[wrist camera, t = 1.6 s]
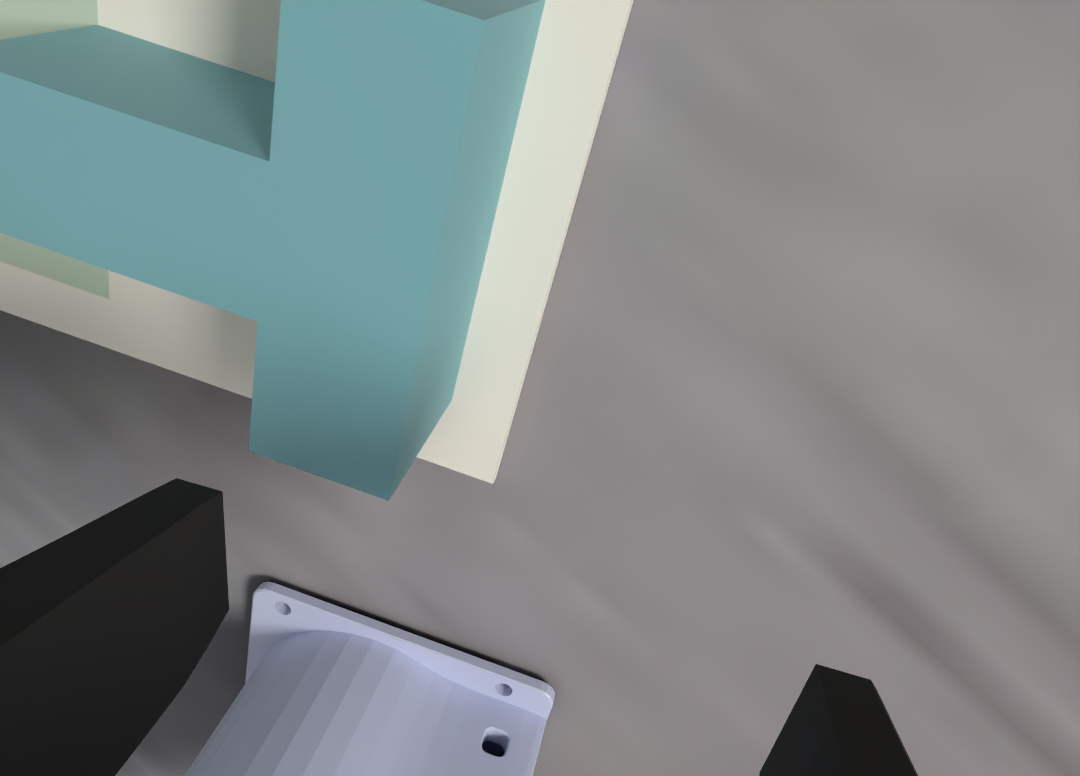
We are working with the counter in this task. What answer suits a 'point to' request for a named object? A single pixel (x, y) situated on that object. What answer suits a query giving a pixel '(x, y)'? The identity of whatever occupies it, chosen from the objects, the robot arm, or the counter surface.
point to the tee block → (290, 199)
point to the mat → (230, 340)
